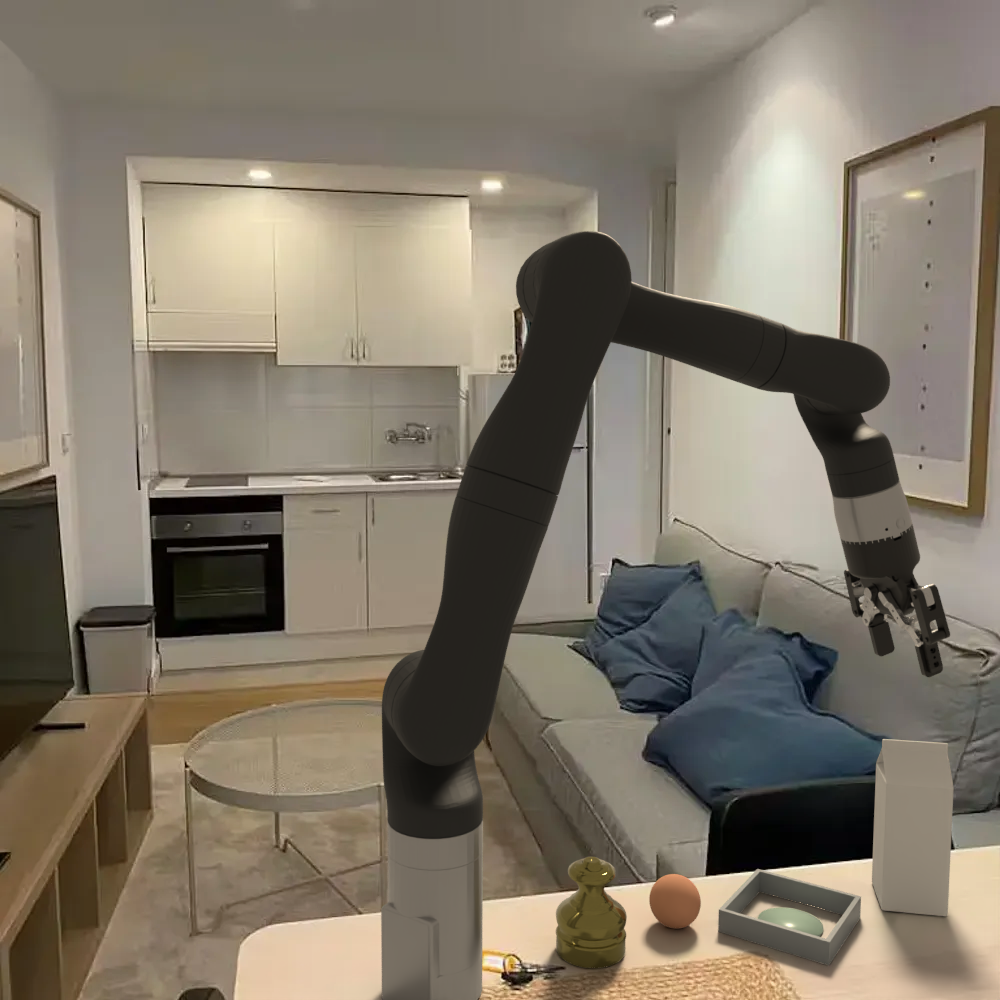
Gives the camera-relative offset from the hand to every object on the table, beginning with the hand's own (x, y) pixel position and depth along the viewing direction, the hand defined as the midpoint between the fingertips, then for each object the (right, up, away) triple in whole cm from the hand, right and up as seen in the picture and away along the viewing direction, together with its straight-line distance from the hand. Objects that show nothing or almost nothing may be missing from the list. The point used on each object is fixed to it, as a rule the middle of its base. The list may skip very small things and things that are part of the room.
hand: (908, 663), depth 112 cm
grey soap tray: (-13, -29, 0) cm, 32 cm away
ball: (-26, -29, 0) cm, 39 cm away
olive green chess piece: (-36, -30, -6) cm, 47 cm away
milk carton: (+2, -29, +6) cm, 29 cm away
